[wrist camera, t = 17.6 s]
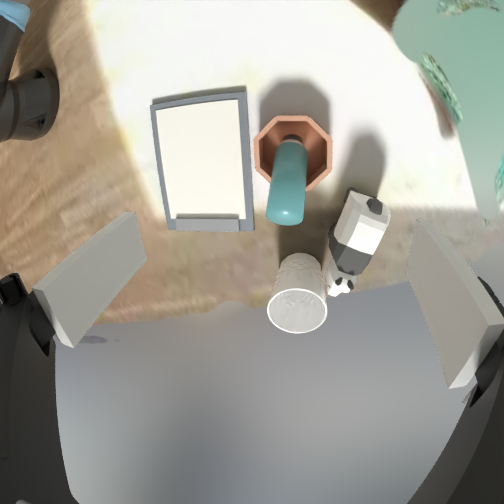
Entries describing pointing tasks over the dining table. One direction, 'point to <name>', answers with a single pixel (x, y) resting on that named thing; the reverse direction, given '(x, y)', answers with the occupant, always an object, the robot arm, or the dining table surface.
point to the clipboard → (205, 162)
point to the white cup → (298, 295)
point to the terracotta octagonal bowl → (313, 141)
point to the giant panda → (354, 240)
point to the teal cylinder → (288, 182)
